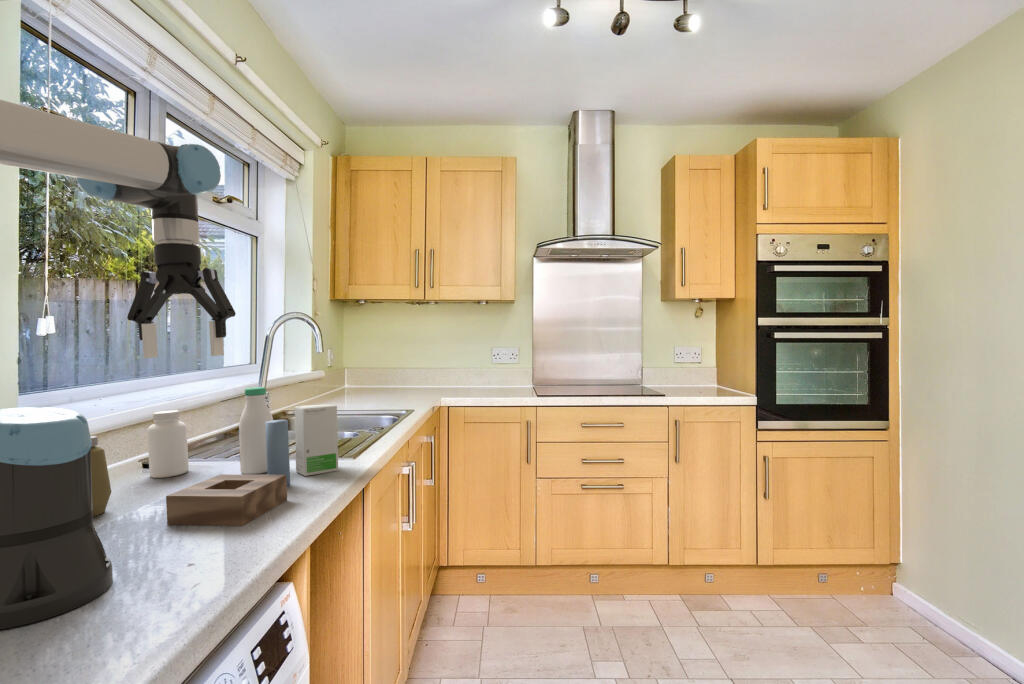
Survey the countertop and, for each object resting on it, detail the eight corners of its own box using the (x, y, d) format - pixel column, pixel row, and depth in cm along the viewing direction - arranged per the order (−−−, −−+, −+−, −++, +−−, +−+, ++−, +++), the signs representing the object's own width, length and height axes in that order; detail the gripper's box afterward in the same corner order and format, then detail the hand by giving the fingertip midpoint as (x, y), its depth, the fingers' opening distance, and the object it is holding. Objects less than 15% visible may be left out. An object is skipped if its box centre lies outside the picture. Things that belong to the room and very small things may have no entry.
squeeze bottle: (81, 524, 95) (77, 422, 95) (44, 522, 97) (39, 421, 96) (123, 509, 103) (119, 414, 103) (88, 507, 104) (84, 414, 104)
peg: (283, 489, 113) (280, 422, 112) (263, 489, 113) (260, 423, 113) (294, 483, 117) (291, 419, 117) (275, 483, 118) (272, 419, 117)
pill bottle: (155, 472, 132) (152, 410, 132) (192, 468, 134) (190, 408, 134) (144, 480, 124) (141, 415, 124) (183, 476, 127) (181, 412, 127)
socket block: (242, 525, 91) (241, 496, 91) (167, 524, 93) (166, 495, 93) (287, 500, 105) (286, 474, 105) (220, 499, 107) (219, 474, 107)
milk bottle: (282, 469, 131) (279, 386, 131) (252, 476, 124) (249, 390, 124) (263, 465, 135) (260, 385, 135) (233, 473, 128) (230, 389, 128)
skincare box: (304, 477, 123) (301, 408, 122) (294, 472, 128) (292, 406, 127) (340, 470, 128) (337, 404, 128) (329, 465, 133) (327, 402, 133)
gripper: (251, 243, 105) (257, 353, 105) (132, 250, 107) (139, 357, 108) (226, 238, 97) (233, 355, 98) (99, 245, 100) (107, 360, 101)
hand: (184, 356), depth 103 cm, fingers open, 13 cm apart
